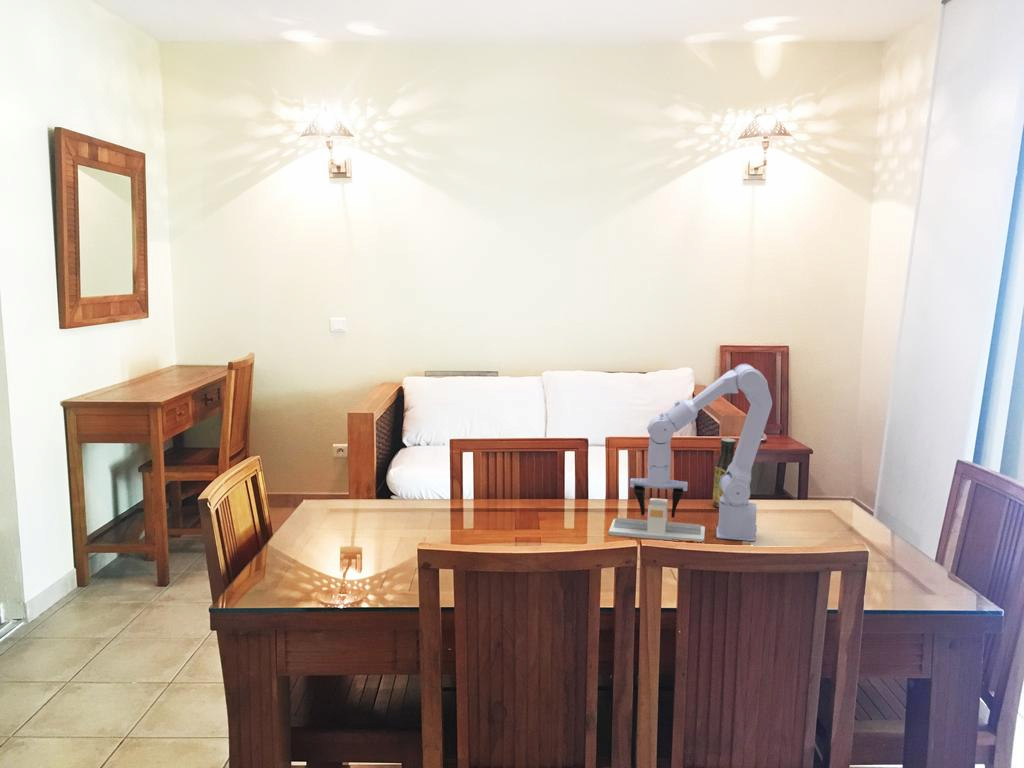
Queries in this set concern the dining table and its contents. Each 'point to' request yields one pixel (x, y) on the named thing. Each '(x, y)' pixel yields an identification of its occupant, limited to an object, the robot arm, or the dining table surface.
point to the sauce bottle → (722, 466)
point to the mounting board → (656, 534)
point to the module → (657, 515)
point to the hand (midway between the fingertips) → (657, 515)
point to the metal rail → (669, 528)
